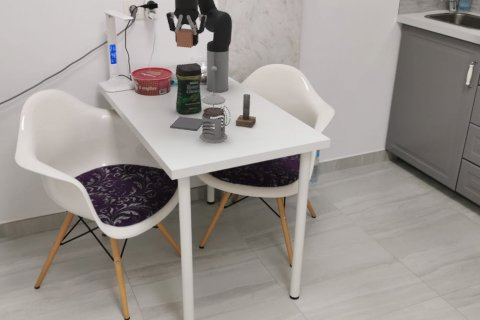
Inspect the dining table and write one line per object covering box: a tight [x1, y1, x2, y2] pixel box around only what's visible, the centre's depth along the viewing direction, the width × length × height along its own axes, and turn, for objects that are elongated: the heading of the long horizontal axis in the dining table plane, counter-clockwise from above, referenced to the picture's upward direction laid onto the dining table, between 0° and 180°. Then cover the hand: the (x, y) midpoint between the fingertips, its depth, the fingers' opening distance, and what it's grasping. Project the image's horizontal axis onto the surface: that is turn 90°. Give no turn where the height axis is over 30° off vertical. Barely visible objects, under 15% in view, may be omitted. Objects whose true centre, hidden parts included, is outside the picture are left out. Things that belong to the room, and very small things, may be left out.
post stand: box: [235, 93, 257, 128], centre depth 194 cm, size 6×6×11 cm
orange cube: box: [176, 27, 194, 49], centre depth 180 cm, size 5×5×5 cm
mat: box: [169, 116, 203, 132], centre depth 194 cm, size 10×10×1 cm
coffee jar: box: [175, 62, 203, 115], centre depth 202 cm, size 10×8×19 cm
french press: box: [198, 67, 231, 144], centre depth 178 cm, size 10×12×25 cm
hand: (187, 44), depth 181 cm, fingers closed on orange cube, 5 cm apart
